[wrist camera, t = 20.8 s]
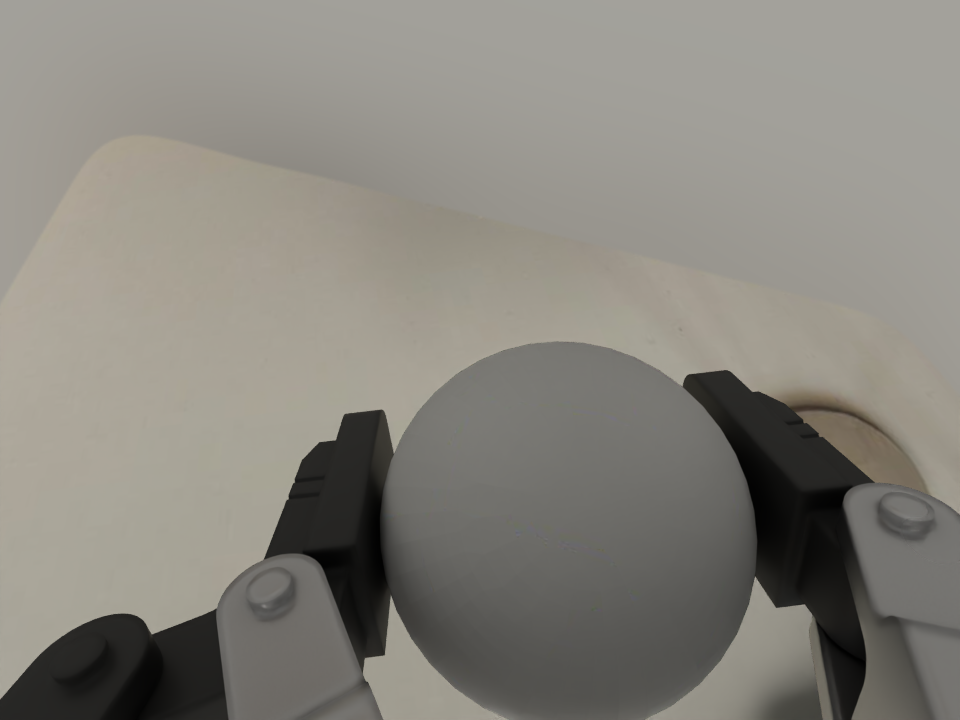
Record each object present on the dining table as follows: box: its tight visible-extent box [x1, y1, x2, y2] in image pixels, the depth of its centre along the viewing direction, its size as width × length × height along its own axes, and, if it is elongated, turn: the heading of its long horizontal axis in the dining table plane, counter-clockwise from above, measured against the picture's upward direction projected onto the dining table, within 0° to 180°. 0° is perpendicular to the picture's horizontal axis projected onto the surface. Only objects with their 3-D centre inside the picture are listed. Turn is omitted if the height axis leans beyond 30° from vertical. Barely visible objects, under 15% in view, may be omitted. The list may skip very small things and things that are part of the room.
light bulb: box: [380, 342, 757, 720], centre depth 11 cm, size 6×6×10 cm
